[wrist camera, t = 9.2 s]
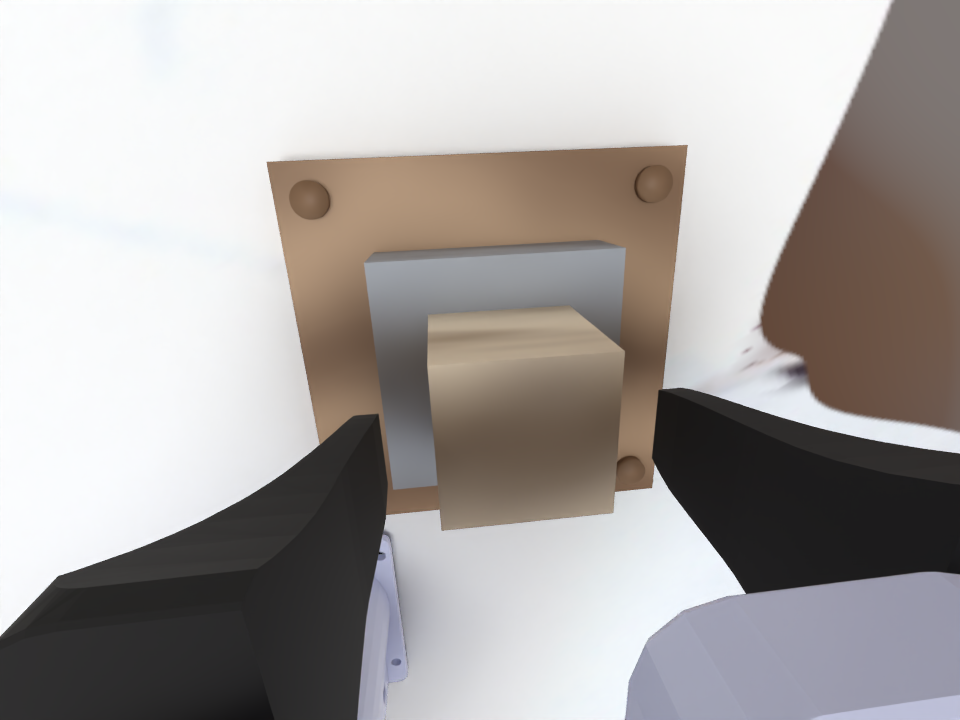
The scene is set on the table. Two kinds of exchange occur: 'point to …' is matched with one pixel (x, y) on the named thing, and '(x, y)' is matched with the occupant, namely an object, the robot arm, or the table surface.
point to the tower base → (475, 215)
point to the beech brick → (523, 415)
